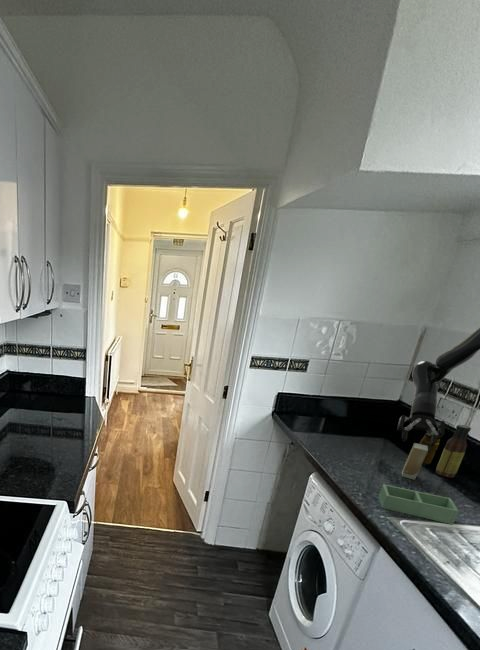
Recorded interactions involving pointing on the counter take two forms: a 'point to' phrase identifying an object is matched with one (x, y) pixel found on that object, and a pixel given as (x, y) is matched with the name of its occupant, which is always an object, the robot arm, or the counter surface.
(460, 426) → the sauce bottle
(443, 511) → the holder
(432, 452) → the condiment
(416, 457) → the cosmetic box
